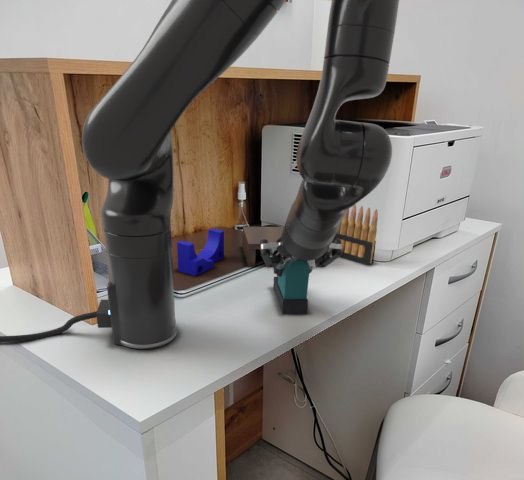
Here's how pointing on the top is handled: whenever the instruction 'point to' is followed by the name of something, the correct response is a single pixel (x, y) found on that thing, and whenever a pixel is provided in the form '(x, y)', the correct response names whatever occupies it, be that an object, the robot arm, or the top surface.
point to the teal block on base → (293, 288)
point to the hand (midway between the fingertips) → (290, 271)
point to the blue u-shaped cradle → (201, 254)
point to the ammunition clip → (358, 236)
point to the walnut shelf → (258, 240)
